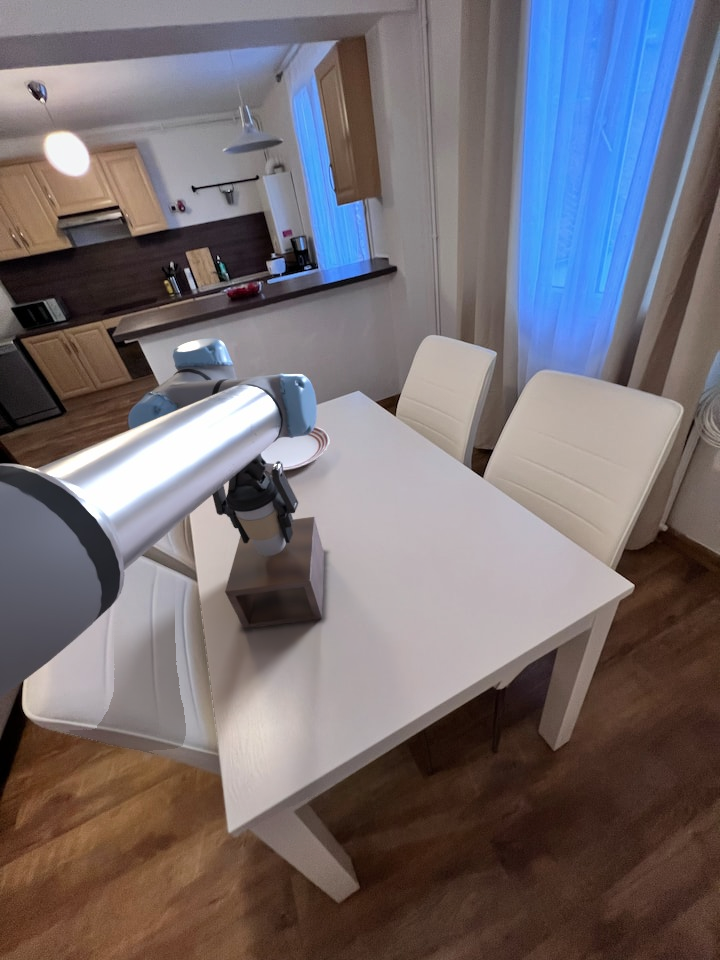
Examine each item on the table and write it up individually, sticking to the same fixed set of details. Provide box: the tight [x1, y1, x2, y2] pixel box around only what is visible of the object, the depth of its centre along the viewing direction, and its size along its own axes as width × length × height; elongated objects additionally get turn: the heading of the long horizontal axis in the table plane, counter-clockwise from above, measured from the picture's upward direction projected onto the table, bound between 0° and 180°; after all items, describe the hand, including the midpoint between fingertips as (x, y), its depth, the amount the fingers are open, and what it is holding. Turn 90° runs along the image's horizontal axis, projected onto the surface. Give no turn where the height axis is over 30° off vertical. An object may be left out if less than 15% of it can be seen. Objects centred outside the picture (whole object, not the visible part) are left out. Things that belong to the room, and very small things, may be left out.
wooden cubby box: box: [224, 516, 325, 629], centre depth 84 cm, size 18×16×12 cm
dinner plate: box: [261, 426, 330, 472], centre depth 134 cm, size 28×27×3 cm
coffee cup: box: [226, 475, 286, 556], centre depth 76 cm, size 9×9×15 cm
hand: (268, 537), depth 79 cm, fingers closed on coffee cup, 8 cm apart
